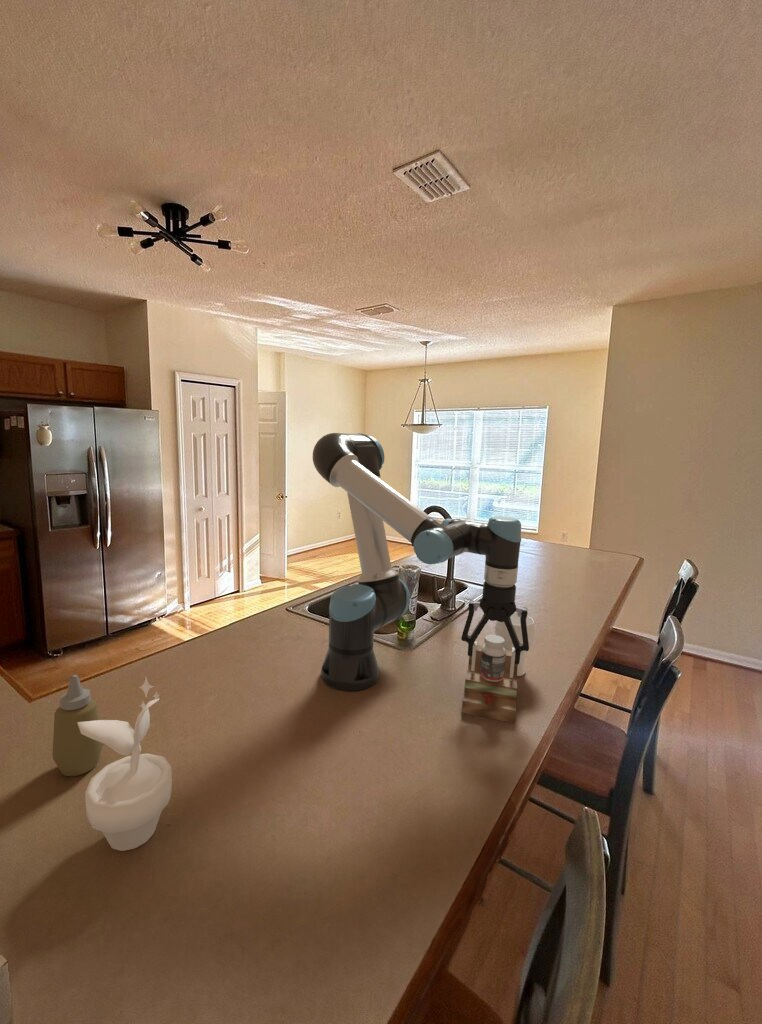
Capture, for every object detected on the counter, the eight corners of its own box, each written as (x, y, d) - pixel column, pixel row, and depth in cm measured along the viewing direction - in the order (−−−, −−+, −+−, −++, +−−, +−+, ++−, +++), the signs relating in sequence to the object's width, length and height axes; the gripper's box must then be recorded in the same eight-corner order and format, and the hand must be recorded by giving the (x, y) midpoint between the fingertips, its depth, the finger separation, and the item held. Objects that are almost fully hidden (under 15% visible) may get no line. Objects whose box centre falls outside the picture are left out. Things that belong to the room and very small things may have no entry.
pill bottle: (475, 671, 115) (478, 634, 113) (495, 669, 116) (499, 632, 115) (486, 684, 109) (489, 644, 108) (507, 681, 111) (511, 642, 109)
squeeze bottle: (95, 745, 91) (90, 660, 89) (112, 765, 86) (107, 676, 84) (47, 766, 85) (39, 676, 82) (62, 789, 80) (54, 694, 77)
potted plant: (185, 805, 78) (180, 667, 74) (153, 869, 67) (146, 710, 62) (108, 804, 78) (100, 665, 73) (64, 868, 66) (50, 708, 62)
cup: (533, 681, 123) (538, 628, 120) (492, 676, 125) (496, 623, 123) (528, 663, 133) (533, 613, 131) (491, 658, 135) (495, 609, 133)
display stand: (461, 712, 108) (464, 672, 106) (468, 678, 123) (470, 643, 121) (514, 723, 105) (518, 682, 103) (514, 687, 120) (518, 651, 118)
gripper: (452, 581, 108) (446, 671, 112) (548, 593, 103) (538, 687, 106) (456, 572, 115) (450, 657, 119) (546, 583, 110) (536, 672, 113)
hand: (492, 671), depth 113 cm, fingers open, 8 cm apart
